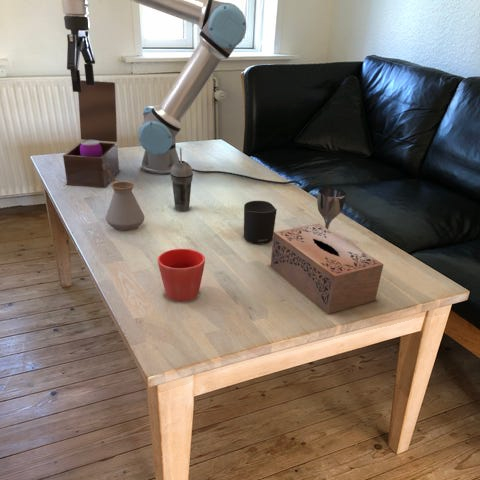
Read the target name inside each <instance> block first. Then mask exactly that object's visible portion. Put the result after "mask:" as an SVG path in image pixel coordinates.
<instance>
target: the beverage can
mask: <svg viewBox="0 0 480 480" xmlns="http://www.w3.org/2000/svg"><path fill="white" fill-rule="evenodd" d="M81 141H82V142H81ZM81 141H80V142H81V146H80V154H81V156H88V157H101V156H102V147H101V145H100V143H99V142H100V141H97V140H81Z"/></svg>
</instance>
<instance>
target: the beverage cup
mask: <svg viewBox="0 0 480 480" xmlns="http://www.w3.org/2000/svg"><path fill="white" fill-rule="evenodd" d="M182 151H183V150H182V147H180V148H179V160H180V161H178V162H176V163H175V164H174V165H173V166H172V168H171V173H170V174H169V175H170V180H171V183H172V193H173V199H174V200H173V201H174V202H173V203H174V207H175V208H174V209H175V211H178V212H187V211H189V210H190V205H191V193H192V192H191V191H192V181H193V176H194V171H192V169H193V168H192V166H191V164H190V163H189V162H187V161H185V160H183V155H182V154H183V153H182Z"/></svg>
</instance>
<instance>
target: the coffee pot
mask: <svg viewBox="0 0 480 480" xmlns="http://www.w3.org/2000/svg"><path fill="white" fill-rule="evenodd" d="M104 165H105V167H106V168H103V165H102V168H103V169H106V170H107V171H108V175H109V176H110V178H111V181H112V184H111V185H110V186H111V189H112V190H113V194H112V198H111V200H110V204H109V206H108V209H107V213H106V215H105V221H106V223H107V224H108V225H109V226H110V227H111V228H113V229H114V230H115V231H118V232H133V231H136V230H137V229H138V228H139V227H140V226H142V224H143V223H144V221H145V215H144V212H143V210H142V208H141V206H140V204H139V202H138V201H137V199H136V197H135V195H134V192H133V189H134V187H135V183H133V182H130V181H117V180H116V178H115V176H113V173H112V172H111V171H110V168H109V167H108V165H109V164H106V163H105V164H104Z"/></svg>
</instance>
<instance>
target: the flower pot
mask: <svg viewBox="0 0 480 480" xmlns="http://www.w3.org/2000/svg"><path fill="white" fill-rule="evenodd" d="M205 262H206V256H205V255H204V254H203V253H201V252H200V251H198V250H195V249H191V248H174V249H170V250H169V249H168V250H166V251H164V252H162V253H160V254H159V256H158V257H157V265H158V268H159V272H160V276H161V280H162V284H163V289H164V292H165V295H166V297H167V298H168V299H169V300H171V301H173V302H179V303H185V302H190V301H193V300H195V299H196V298H198V295H199V292H200V288H201V284H202V279H203V274H204V269H205V264H206V263H205Z"/></svg>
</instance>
